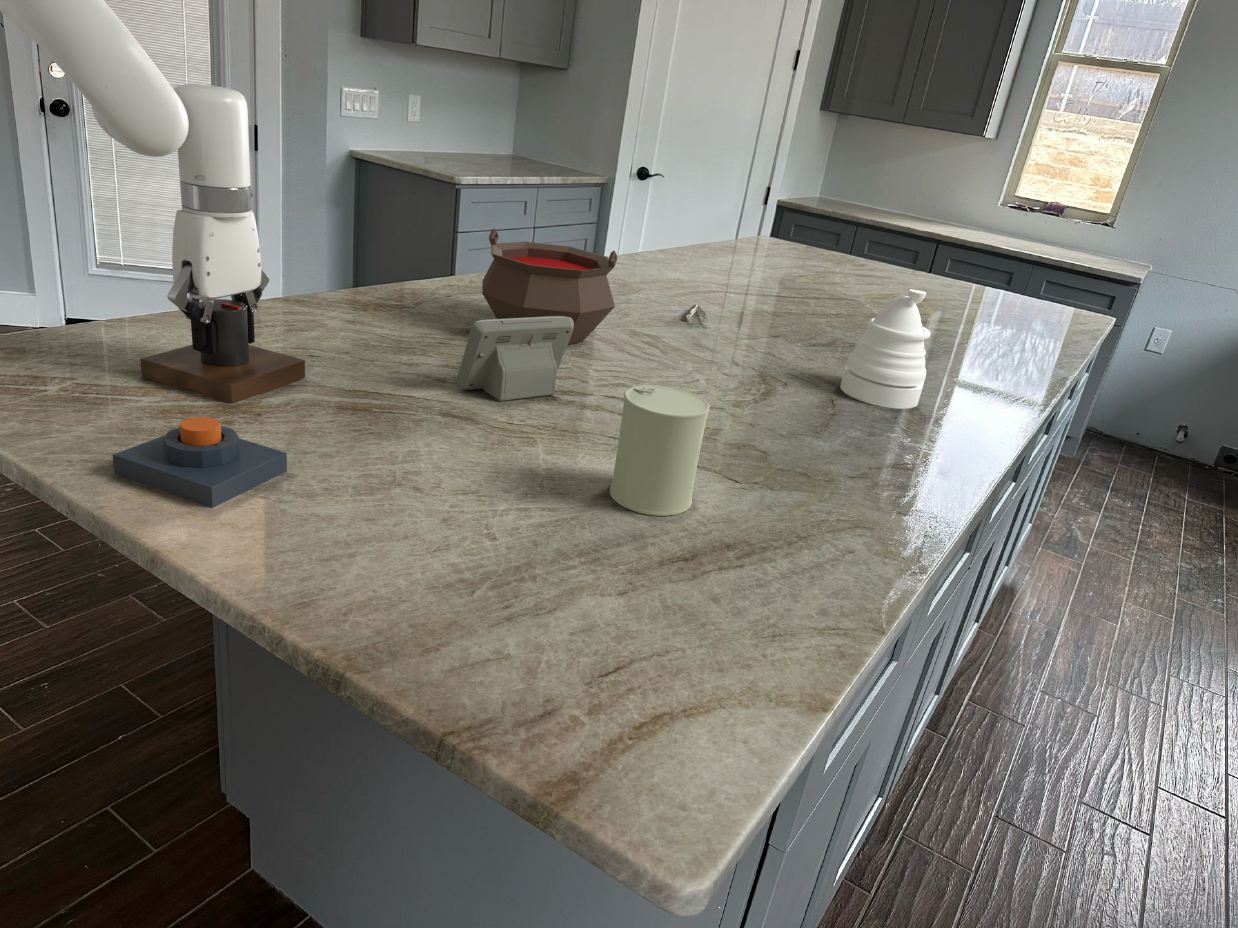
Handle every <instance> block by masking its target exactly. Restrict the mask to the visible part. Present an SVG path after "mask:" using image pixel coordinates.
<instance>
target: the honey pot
mask: <svg viewBox="0 0 1238 928" xmlns="http://www.w3.org/2000/svg"><path fill="white" fill-rule="evenodd" d="M926 295H927V292H926V291H922V290H920V289H919V290H918V289H909V290H908V296H907V295H901V296H897V297H895V298H894V299H892V300H891V301H890V302H888V303H887V304H886V305H885V306H884V307H883V308H882V310H880V311H879V313H878V314H877V315H876V316H875V317H873V318H869V319H868V321H867V326H868V327H867V329H866V330H865V332H864V333H863V335H862V336H860V337H859V339H858V342H857V344H855V345H854V348H853V350H852V351H851V352H850V353H849V355H848V357H847V359H846V364H845V368H844V370H843V374H842V378H841V381H840V386H839V388H840V390H841V391H842V392H843V393H844V394H845V395H847V396H848V397H851V398H853V399H854V400H858V401H860V402H862V403H863V402H864V403H866V404H869V405H873V406H877V407H882V408H887V409H897V410H902V409H903V410H905V409H906V410H907V409H908V410H909V409H913V408H916V407H917V406H918V405H919V401H920V398H921V395H922V391H923V389H924V384H925V380H926V379H927V369H926V358H925V357H926V354H927V352H926V350H925V340H927V339H929V338H930V337H931V331H930V330H929V329H928V328H926V327H924V326H923V324H922V319H921V314H920V312H919V308H918V306H917V304H919V303H921V302H922V301H923V300H924V299H925V297H926Z"/></svg>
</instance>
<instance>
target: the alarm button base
mask: <svg viewBox="0 0 1238 928" xmlns="http://www.w3.org/2000/svg"><path fill="white" fill-rule="evenodd" d="M221 438H222V439H221V441H220V442H218V443H215V444H212V445H204V446H192V445H187V444H184V443H182V442H181V436H180V426H179V427H177V428H175V429H171V430H168V431H167V432H166V434H164V435H162V436H161V435H160V436H158V437H156V438H153V439H150V440H148V441H145V442H142V443H140V444H138V445H135V446H132V447H129V448H126V449H124V450H121V451H119V452H116V453H113V454H112V463H113V469H114V470H113V471H114V475H116V476H118V477H122V478H125V479H127V480H130V481H133V482H136V483H139V484H142V485H145V486H148V487H150V488H153V489H156V490H159V491H162V492H164V493H167V494H170V495H174V496H177V497H180V498H183V499H186V500H189V501H191V502H194V503H197V504H200V505H203V506H205V507H209V508H211V509H214V508H215V507H217V506H220V505H222V504H225V503H226V502H228V501H230V500H232V499H234V498H237V497H238V496H240V495H242V494H244V493H246V492H248V491H250V490H252V489H255V488H256V487H258V486H260V485H262V484H265V483H266V482H269V481H270V480H272V479H275V478H276V477H279V476H281V475H282V474H285V473H287V472H288V456H287V455H288V454H287V452H285V451H282V450H278V449H275V448H271V447H269V446H265V445H263V444H259V443H256V442H252V441H250V440H248V439H243V438H240V437H239V435H238V433H237V432H236V431H235V430H234V429H233V428H231V427H227V426H223V425H221Z"/></svg>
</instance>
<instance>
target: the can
mask: <svg viewBox="0 0 1238 928" xmlns="http://www.w3.org/2000/svg"><path fill="white" fill-rule="evenodd" d="M709 411H710V404H709V403H708V401H707V400H705V398H703V397H702V396H700V395H698V394H695V393H693V392H691V391H688V390H685V389H682V388H677V387H673V386H669V385H668V386H667V385H659V384H658V385H657V384H645V385H644V384H643V385H642V384H641V385H636V386H631V387H630V388H628V389H626V390H625V392H624V393H623V405H622V412H621V420H620V430H619V436H618V443H617V450H616V456H615V463H614V468H613V473H612V480H611V483H610V484H611V485H610V486H609V495H610V497H611V498H612V500H613V501H614V502H616V504H618V505H620V506H621V507H623V508H624V509H627V510H630V511H632V512H635V513H639V514H642V515H647V516H655V517H670V516H675V515H680V514H682V513H685V512H686V511H688V510H689V509H690V508H691V506H692V503H693V499H692V498H693V491H694V485H695V479H696V475H697V474H696V473H697V470H698V462H699V459H700V453H701V448H702V442H703V438H704V432H705V428H706V423H707V419H708V416H709V415H708V414H709Z"/></svg>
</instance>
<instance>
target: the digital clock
mask: <svg viewBox="0 0 1238 928" xmlns="http://www.w3.org/2000/svg"><path fill="white" fill-rule="evenodd" d="M573 326H574V322H573V320H572V318H570V317H565V316H549V317H529V318H509V319H497V318H494V319H479V320H476V321H474V323H472V326H471V328H470V332H469V334H468V338H467V341H466V346H465V350H464V352H463V355H462V356H463V357H462V360H461V364H460V367H459V370H458V375H457V377H456V385H457V386H458V387H459V388H460V389H463V390H470V391H471V390H483V391H484V392H485V393H487V394H489V395H490V396H492V397H493V398H494V399H496V400H497V401H499V402H504V401H513V400H521V399H530V398H538V397H547V396H548V397H549V396H554V395H555V394H556V383H557V376H558V371H559V369H560V367H561V363H562V361H563V358H564V356H565V354H566V353H565V352H566V350H567V347H568V345H567V344H568V342H569V339H570V336H571V333H572V330H573Z"/></svg>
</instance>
